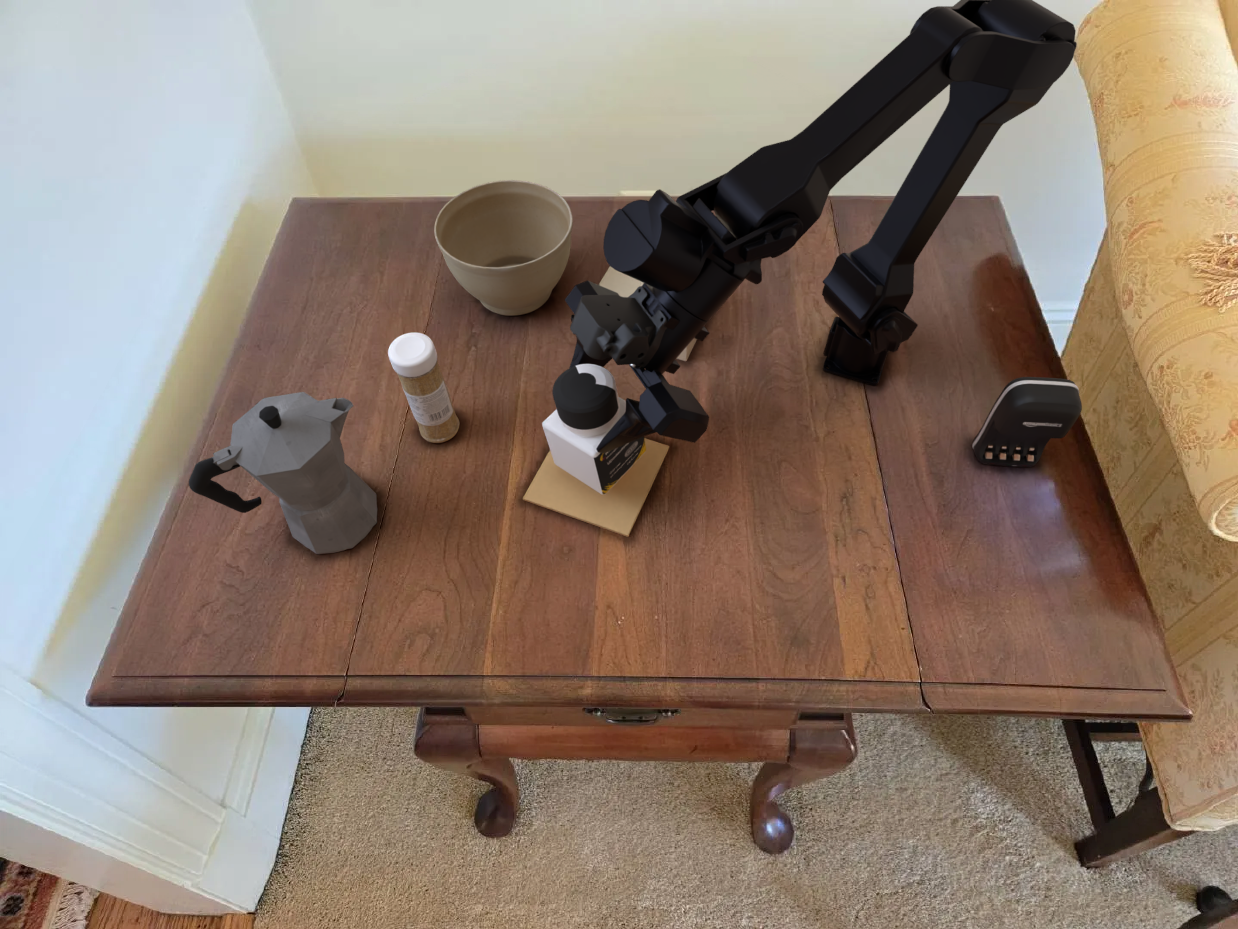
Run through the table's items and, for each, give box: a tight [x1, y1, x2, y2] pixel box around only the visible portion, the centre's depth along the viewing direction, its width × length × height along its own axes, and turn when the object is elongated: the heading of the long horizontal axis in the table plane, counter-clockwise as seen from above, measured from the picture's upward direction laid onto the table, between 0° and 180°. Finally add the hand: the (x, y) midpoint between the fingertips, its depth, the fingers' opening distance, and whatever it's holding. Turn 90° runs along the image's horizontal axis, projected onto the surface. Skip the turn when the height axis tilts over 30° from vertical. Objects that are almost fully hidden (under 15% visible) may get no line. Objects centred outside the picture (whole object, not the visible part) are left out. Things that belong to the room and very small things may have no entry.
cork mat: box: [522, 437, 670, 538], centre depth 83 cm, size 12×12×1 cm
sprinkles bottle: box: [387, 332, 460, 444], centre depth 82 cm, size 5×5×14 cm
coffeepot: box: [188, 391, 378, 555], centre depth 74 cm, size 15×9×18 cm, turn 123°
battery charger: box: [971, 376, 1083, 468], centre depth 79 cm, size 7×4×11 cm, turn 84°
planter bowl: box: [433, 179, 574, 317], centre depth 95 cm, size 16×16×11 cm
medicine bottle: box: [541, 364, 646, 495], centre depth 77 cm, size 7×7×12 cm
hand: (581, 422), depth 75 cm, fingers closed on medicine bottle, 7 cm apart
